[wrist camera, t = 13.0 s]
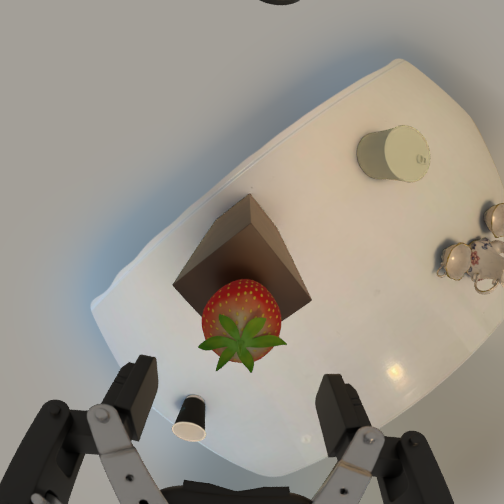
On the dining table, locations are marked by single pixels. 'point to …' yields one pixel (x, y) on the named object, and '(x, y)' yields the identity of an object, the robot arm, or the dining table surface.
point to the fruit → (241, 323)
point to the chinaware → (479, 254)
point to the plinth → (243, 260)
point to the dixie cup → (191, 419)
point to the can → (394, 154)
